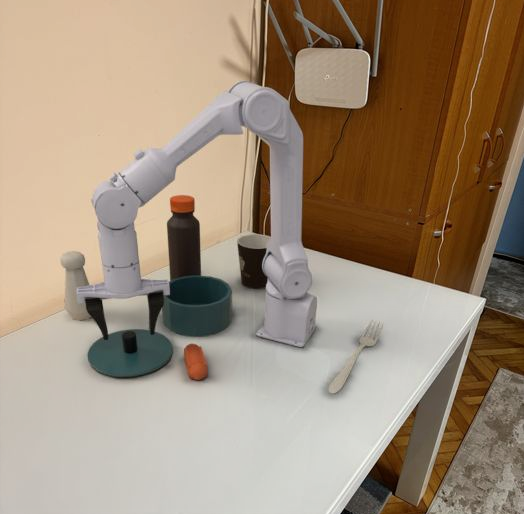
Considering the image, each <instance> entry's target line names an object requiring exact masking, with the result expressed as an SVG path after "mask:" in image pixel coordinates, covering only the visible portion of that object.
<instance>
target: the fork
mask: <svg viewBox="0 0 524 514" xmlns="http://www.w3.org/2000/svg"><path fill="white" fill-rule="evenodd" d="M372 323H373V319H371V321H370V322H369V324H368V326H367V327H366V328H365V330H364V331H363V333H362V334H361V336H360V337H359V339H358V343H359V344H360V345H359V346H358V348H357V349H356V351H355V352H354V354H353V355H352V356H351V358H350V359H349V360H348V361H347V363H346V364H345V365H344V367H343V368H342V369H341V370H340V372H339V373H338V374H337V375H336V377H334V379H333V380H332V381H331V383H330V384H329V385H328V393H329V394H331V395H335V394H337V393H339V392H340V391H341V390H342V388H343V387H344V385H345V383H346V381H347V379H348V377H349V375H350V373H351V371H352V369H353V367H354V366H355V363H356V360H357V358H358V357H359V355H360V354H361V351H362V350H363V348H365V347H373V346H375V345H376V344H377V342H378V340H379V338H380V335H381V333H382V330H383V327H384V322H382V324H381V322H380V321H378V323H377V320H375V322H374V323H373V325H372ZM376 324H377V325H376ZM380 324H381V326H380ZM375 326H376V327H375ZM374 328H375V329H374ZM368 330H369V331H368ZM373 330H374V331H373ZM372 332H373V333H372ZM376 333H377V335H376ZM371 334H372V335H371ZM375 335H376V336H375ZM374 338H375V339H374Z"/></svg>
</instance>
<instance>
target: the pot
mask: <svg viewBox="0 0 524 514" xmlns="http://www.w3.org/2000/svg"><path fill="white" fill-rule="evenodd" d="M168 282H169V287H170V295H163V297H164V305H163V307H162V309H161V313H162V320H163V325H164V326H165V328H166V329H168V330H169V331H170V332H172V333H174V334H176V335H180V336H183V337H194V338H195V337H207V336H208V337H209V336H212V335H216V334H218V333H220V332H223V331H224V330H225V329H227V328H228V327H229V326H230V324H231V322H232V318H233V288H232V286H231V285H230V284H229V283H228V282H227V281H225V280H223V279H221V278H218V277H214V276H211V275H201V276H200V275H195V276H184V277H180V278H176V279H173V280H171V281H170V280H168Z"/></svg>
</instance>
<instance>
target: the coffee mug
mask: <svg viewBox="0 0 524 514" xmlns="http://www.w3.org/2000/svg"><path fill="white" fill-rule="evenodd" d="M270 239H271V235H266V234H261V233H250V234H244V235H242V236H240V237H238V238H237V240H236V244H237V245H236V246H237V252H238V253H237V255H238V263H239V271H240V281H241V282H240V283H241V285H242V286H243V287H245V288H249V289H254V290H260V289H265V288H266V285H267V281H268V277H267V276H266V275H265V274H264V272H263V269H262V262H263V259H264V257H265V255H266V251H267V243H268V242H269V241H270Z"/></svg>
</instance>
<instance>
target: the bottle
mask: <svg viewBox="0 0 524 514" xmlns="http://www.w3.org/2000/svg"><path fill="white" fill-rule="evenodd" d="M195 202H196V201H195V197H193V196H192V195H188V194H187V195H186V194H179V195H178V194H177V195H173V196H171V197H170V198H169V207H170V212H171V214H172V215H171V217H170V218H169V219H168V220H167V221H166V233H167V246H168V247H167V249H168V264H169V265H168V266H169V267H168V268H169V281H171V280H173V279H176V278H180V277H184V276H195V275H200V276H202V256H201V254H202V253H201V224H200V220H199V219H198V218H197V217H196V216H195V215H194V213H195V212H196V211H195V210H196V207H195V205H196V204H195Z"/></svg>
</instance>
